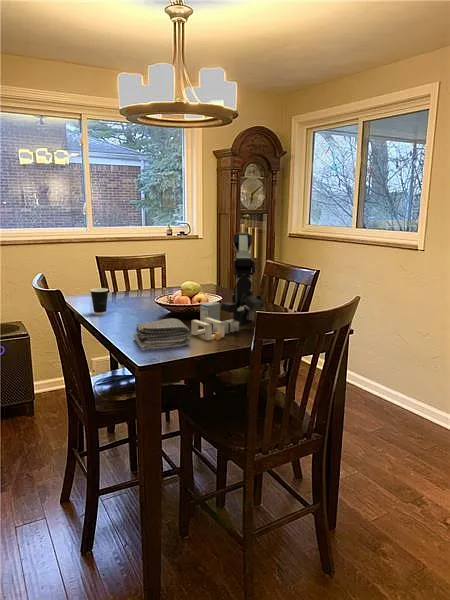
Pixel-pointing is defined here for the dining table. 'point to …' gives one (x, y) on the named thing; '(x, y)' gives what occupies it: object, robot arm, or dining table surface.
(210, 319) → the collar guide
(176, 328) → the towel
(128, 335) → the dining table surface
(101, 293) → the dixie cup
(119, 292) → the dining table surface
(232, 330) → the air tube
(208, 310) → the medicine box
